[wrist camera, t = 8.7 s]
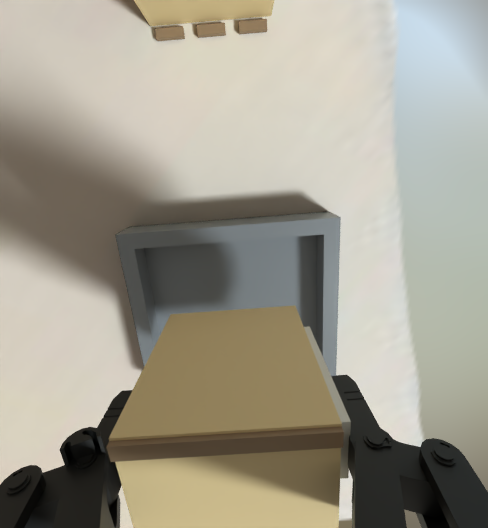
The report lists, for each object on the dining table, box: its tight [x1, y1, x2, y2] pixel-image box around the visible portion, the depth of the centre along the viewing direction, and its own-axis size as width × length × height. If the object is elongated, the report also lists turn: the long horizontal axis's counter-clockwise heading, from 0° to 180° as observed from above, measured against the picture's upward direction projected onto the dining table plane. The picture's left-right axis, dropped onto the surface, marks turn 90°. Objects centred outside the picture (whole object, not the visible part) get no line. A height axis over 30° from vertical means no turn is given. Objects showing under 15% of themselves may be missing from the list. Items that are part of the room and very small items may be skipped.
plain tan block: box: [107, 305, 344, 528], centre depth 13 cm, size 5×7×8 cm
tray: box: [115, 212, 340, 376], centre depth 21 cm, size 13×14×2 cm
